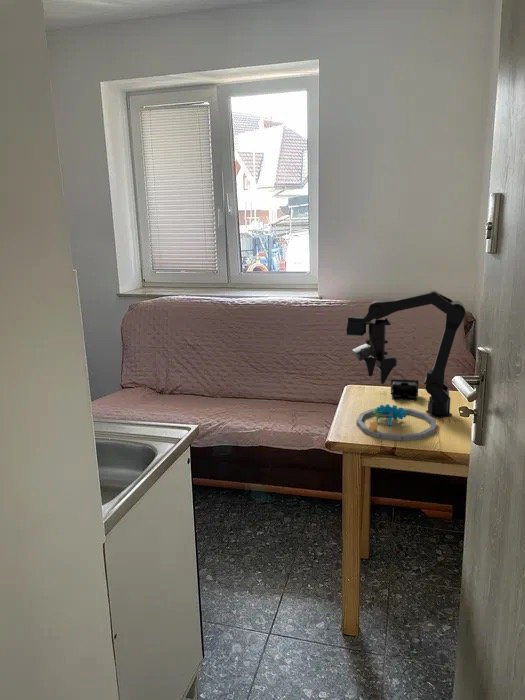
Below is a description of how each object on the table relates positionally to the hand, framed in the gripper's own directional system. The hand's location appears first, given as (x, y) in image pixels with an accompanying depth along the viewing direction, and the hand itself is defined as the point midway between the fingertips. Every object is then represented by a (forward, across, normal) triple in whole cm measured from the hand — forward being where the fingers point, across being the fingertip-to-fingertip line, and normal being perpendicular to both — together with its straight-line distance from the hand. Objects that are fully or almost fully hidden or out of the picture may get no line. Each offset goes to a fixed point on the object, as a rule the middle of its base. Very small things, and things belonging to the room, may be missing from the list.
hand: (376, 379), depth 191 cm
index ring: (+11, +16, 0) cm, 19 cm away
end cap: (+11, -8, +16) cm, 21 cm away
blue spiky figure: (+11, +13, -1) cm, 17 cm away
